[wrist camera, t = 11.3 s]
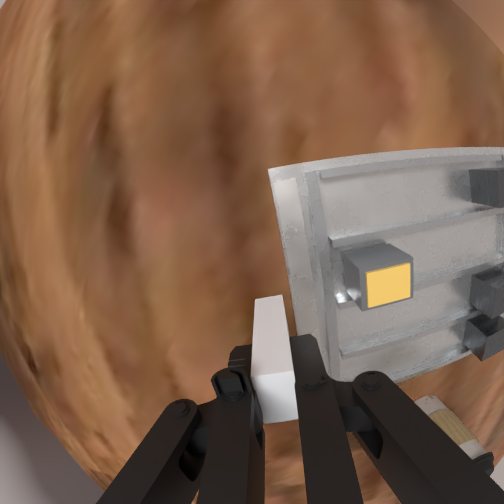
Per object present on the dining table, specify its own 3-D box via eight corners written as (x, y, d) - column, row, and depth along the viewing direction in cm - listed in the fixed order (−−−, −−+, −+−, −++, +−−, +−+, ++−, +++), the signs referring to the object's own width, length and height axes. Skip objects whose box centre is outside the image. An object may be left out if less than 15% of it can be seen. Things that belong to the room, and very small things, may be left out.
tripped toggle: (345, 289, 21) (363, 313, 17) (342, 252, 20) (360, 270, 16) (391, 278, 21) (415, 299, 17) (389, 243, 20) (414, 257, 16)
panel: (305, 391, 27) (312, 432, 21) (267, 170, 21) (269, 166, 16) (494, 327, 24) (521, 349, 19) (499, 147, 19) (537, 147, 13)
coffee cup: (409, 439, 29) (441, 513, 15) (372, 426, 28) (405, 518, 14) (458, 395, 27) (506, 464, 13) (429, 374, 26) (487, 461, 12)
